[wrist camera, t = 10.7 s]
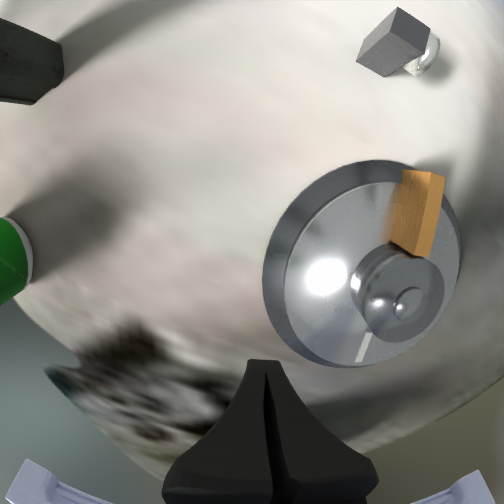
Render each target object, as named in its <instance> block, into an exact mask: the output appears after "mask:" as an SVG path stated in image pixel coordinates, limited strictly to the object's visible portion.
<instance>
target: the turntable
mask: <svg viewBox="0 0 504 504" xmlns="http://www.w3.org/2000/svg"><path fill="white" fill-rule="evenodd" d="M445 178H446V177H443V176H441V175H438V174H435V173H432V172H425V171H415V170H405V169H403V174H402V180H401V184H399V183H393V182H370V183H364V184H360V185H357V186H354V187H351V188H349V189H347V190H344V191H342V192H340V193H339V194H337V195H335V196H334V197H332V198H331V199H329V200H328V201H327V202H325V203H324V204H323V205H322V206H321V207H319V208H318V209H317V210H316V211H315V212H314V213H313V215H312V216H311V217H310V218H309V219H308V220H307V221H306V223H305V224H304V226H303V227H302V228H301V230H300V231H299V233H298V235H297V237H296V239H295V241H294V242H293V244H292V247H291V250H290V252H289V255H288V258H287V262H286V266H285V271H284V280H283V292H284V300H285V306H286V310H287V315H288V318H289V321H290V324H291V326H292V328H293V330H294V332H295V334H296V335H297V337H298V338H299V339H300V341H301V342H302V343H303V344H304V345H305V346H306V347H307V348H308V349H309V350H310V351H312V352H313V353H314V354H316V355H317V356H319V357H321V358H323V359H325V360H327V361H330V362H333V363H336V364H341V365H348V366H363V365H371V364H376V363H380V362H383V361H386V360H389V359H391V358H393V357H396V356H398V355H400V354H401V353H403V352H405V351H407V350H408V349H410V348H411V347H413V346H414V345H415V344H417V343H418V342H419V341H420V340H421V339H422V338H424V337H425V336H426V335H427V334H428V332H429V331H430V330H431V329H432V328H433V327H434V326H435V324H436V323H437V322H438V320H439V319H440V317H441V316H442V314H443V313H444V311H445V309H446V307H447V306H448V304H449V301H450V299H451V297H452V294H453V291H454V288H455V285H456V281H457V276H458V269H459V248H458V242H457V237H456V234H455V231H454V228H453V225H452V223H451V221H450V219H449V217H448V216H447V214H446V213H445V211H444V209H443V208H442V207H441V202H442V196H443V191H444V184H445ZM388 243H396V244H398V245H399V246H401V247H402V248H404V249H406V250H407V251H409V252H410V253H412V254H413V255H417V256H423V257H424V258H426V259H427V260H429V261H430V262H432V263H433V264H435V265H436V266H437V267H438V268H439V270H440V271H441V273H442V276H443V279H444V285H445V291H444V298H443V302H442V305H441V308H440V310H439V312H438V314H437V315H436V317H435V318H434V320H433V321H432V322H431V324H430V325H429V326H428V327H427V328H426V329H425V330H424V331H422V332H421V333H420V334H418V335H417V336H415V337H413V338H411V339H409V340H406V341H403V342H398V343H390V342H385V341H382V340H380V339H379V338H377V337H376V336H375V335H374V334H373V333H372V331H371V330H370V328H369V326H368V325H367V323H366V322H365V320H364V319H363V317H362V316H361V314H360V312H359V311H358V309H357V308H356V306H355V305H354V303H353V300H352V297H351V281H352V277H353V274H354V271H355V269H356V267H357V266H358V264H359V263H360V261H361V260H362V259H363V258H364V256H365V255H367V254H368V253H369V252H370V251H372V250H373V249H375V248H376V247H378V246H381V245H383V244H388Z"/></svg>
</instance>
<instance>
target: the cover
mask: <svg viewBox="0 0 504 504" xmlns="http://www.w3.org/2000/svg"><path fill="white" fill-rule="evenodd" d="M444 291H445V285H444V279H443V276H442V273H441V271H440V270H439V268H438V267H437V266H436V265H435V264H433V263H432V262H430V261H429V260H427V259H426V258H424V257H423V256H417V255H413V254H412V253H410V252H409V251H407V250H406V249H404V248H402V247H401V246H399V245H398V244H396V243H388V244H383V245H381V246H378V247H376V248H375V249H373V250H372V251H370V252H369V253H368V254H367V255H365V256H364V258H363V259H362V260H361V261H360V263H359V264H358V266H357V267H356V269H355V271H354V274H353V277H352V281H351V297H352V300H353V303H354V305H355V306H356V308H357V309H358V311H359V312H360V314H361V316H362V317H363V319H364V320H365V322H366V323H367V325H368V326H369V328H370V330H371V331H372V333H373V334H374V335H375V336H376V337H377V338H379V339H380V340H382V341H385V342H390V343H398V342H403V341H406V340H409V339H411V338H413V337H415V336H417V335H418V334H420V333H421V332H422V331H424V330H425V329H426V328H427V327H428V326H429V325H430V324H431V322H432V321H433V320H434V318H435V317H436V315H437V314H438V312H439V310H440V308H441V305H442V302H443V298H444Z"/></svg>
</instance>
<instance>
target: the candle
mask: <svg viewBox="0 0 504 504" xmlns="http://www.w3.org/2000/svg"><path fill="white" fill-rule="evenodd" d="M63 75H64V67H63V59H62V49H61V45H60V44H59V43H57V42H54V41H52V40H50V39H48V38H46V37H44V36H42V35H40V34H37V33H35V32H33V31H31V30H28V29H26V28H24V27H21V26H19V25H16V24H14V23H12V22H9V21H7V20H4V19H1V18H0V102H9V103H17V104H24V105H33V104H34V103H35V102H36V100H37V99H38V98H40V97H41V96H42V95H43V94H45V93H46V92H47V91H49V90H50V89H51V88H55V87H56V86H58V84H59V83H60V82H61V80H62V78H63Z"/></svg>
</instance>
